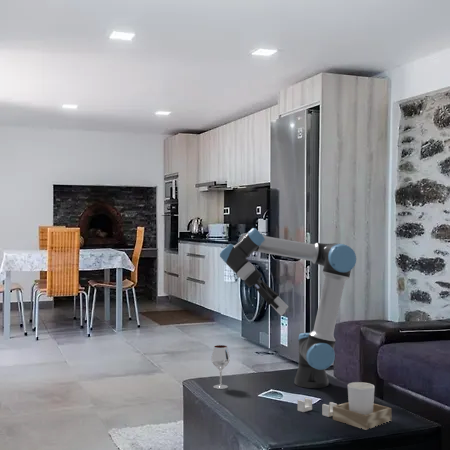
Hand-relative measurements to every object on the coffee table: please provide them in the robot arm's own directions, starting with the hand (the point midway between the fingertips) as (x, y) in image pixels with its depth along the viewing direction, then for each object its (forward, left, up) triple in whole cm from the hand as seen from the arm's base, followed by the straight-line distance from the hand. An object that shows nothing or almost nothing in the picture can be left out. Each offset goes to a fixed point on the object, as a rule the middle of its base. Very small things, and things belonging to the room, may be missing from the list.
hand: (285, 311), depth 256 cm
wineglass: (+11, -29, -36) cm, 47 cm away
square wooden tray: (0, +40, -36) cm, 54 cm away
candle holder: (+1, +40, -35) cm, 53 cm away
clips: (+6, +23, -36) cm, 43 cm away
